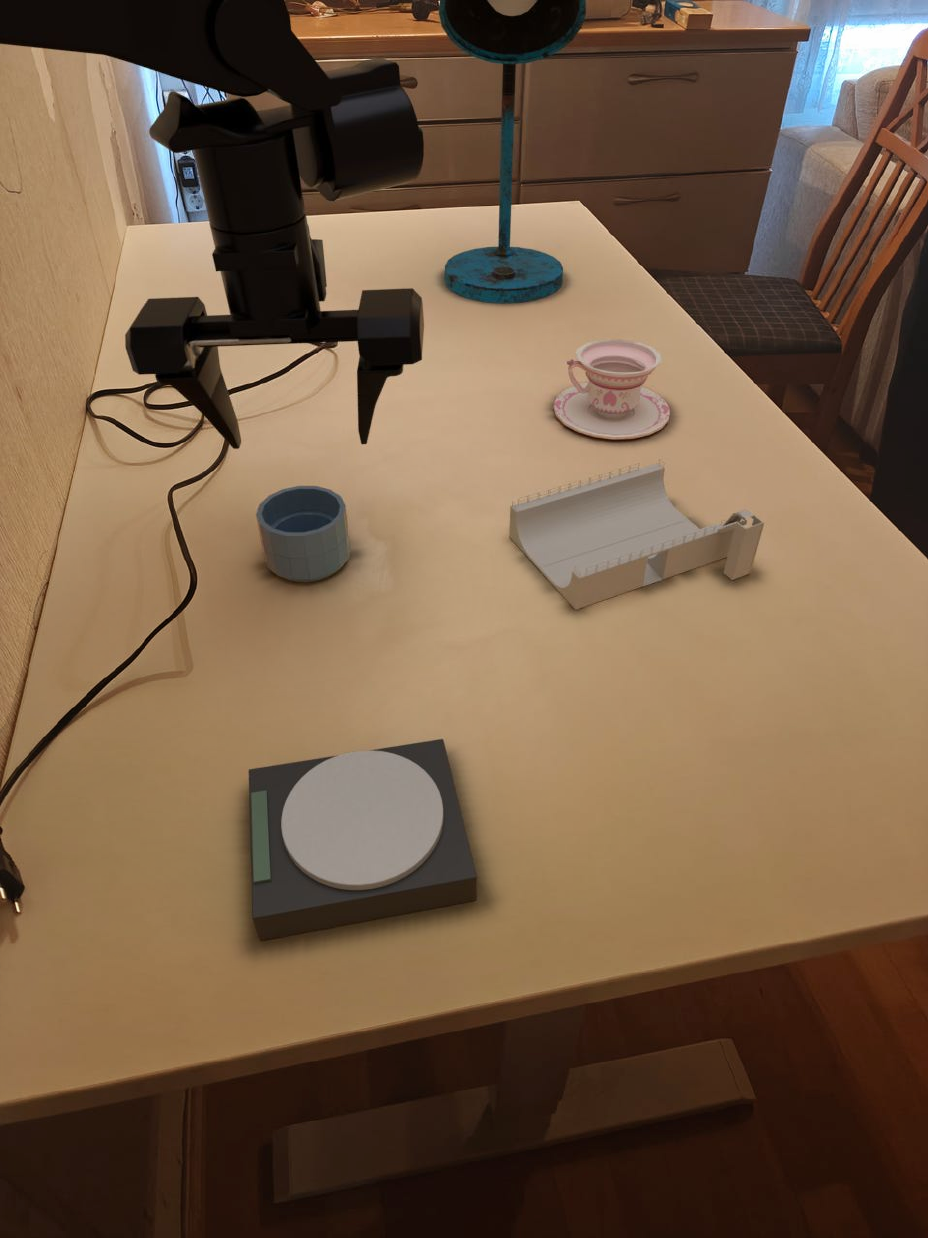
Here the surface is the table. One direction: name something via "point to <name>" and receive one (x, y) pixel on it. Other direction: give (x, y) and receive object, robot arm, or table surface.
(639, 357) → the teacup
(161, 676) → the table surface
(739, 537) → the skate ramp
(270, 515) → the bowl
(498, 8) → the desk lamp
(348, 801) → the scale
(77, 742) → the table surface
